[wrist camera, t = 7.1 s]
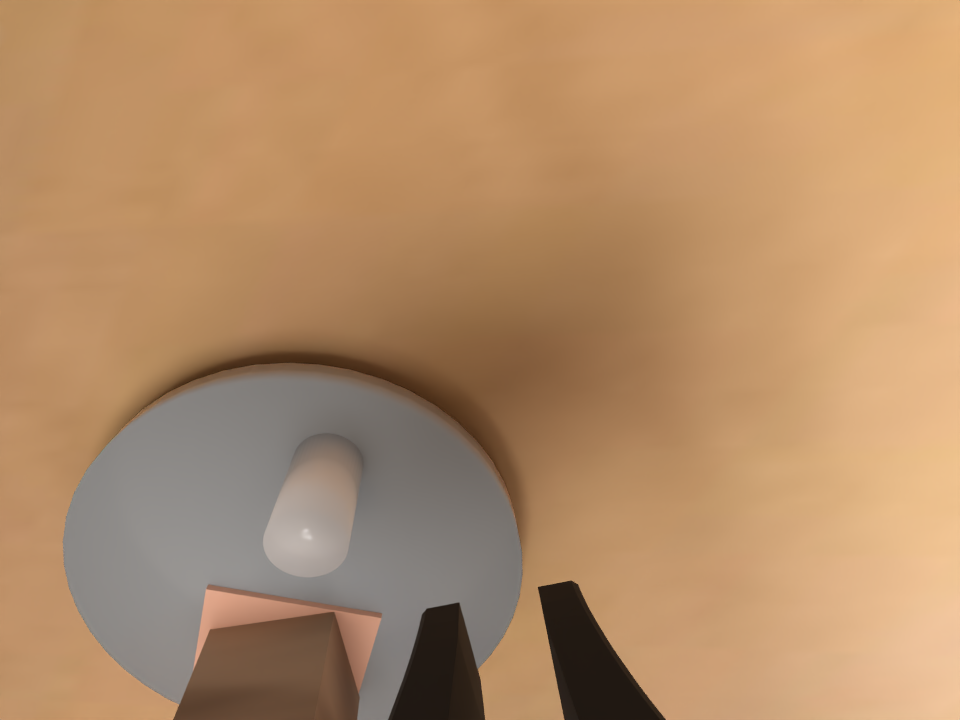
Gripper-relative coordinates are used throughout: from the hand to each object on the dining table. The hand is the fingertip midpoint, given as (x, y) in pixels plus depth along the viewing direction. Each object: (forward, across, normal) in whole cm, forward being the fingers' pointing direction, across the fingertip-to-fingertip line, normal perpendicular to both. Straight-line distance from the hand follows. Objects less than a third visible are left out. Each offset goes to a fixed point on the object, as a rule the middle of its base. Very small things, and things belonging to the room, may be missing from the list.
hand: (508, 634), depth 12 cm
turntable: (+9, +7, +4) cm, 12 cm away
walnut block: (+7, +8, +7) cm, 13 cm away
